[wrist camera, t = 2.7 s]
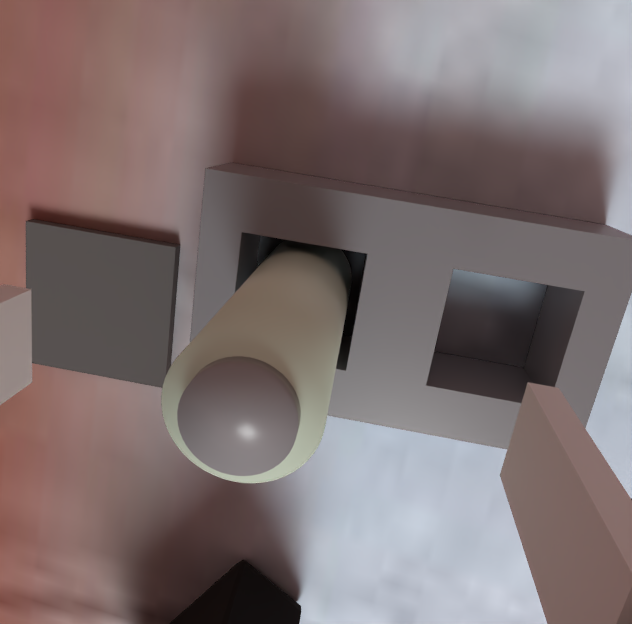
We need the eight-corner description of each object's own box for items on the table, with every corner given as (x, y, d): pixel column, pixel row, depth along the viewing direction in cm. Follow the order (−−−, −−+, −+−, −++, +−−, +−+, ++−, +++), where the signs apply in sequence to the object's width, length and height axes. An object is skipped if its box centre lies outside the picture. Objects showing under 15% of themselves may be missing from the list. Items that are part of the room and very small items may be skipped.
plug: (259, 311, 27) (146, 480, 14) (270, 227, 26) (157, 326, 13) (343, 326, 27) (309, 512, 14) (359, 242, 25) (337, 358, 12)
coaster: (33, 357, 29) (26, 361, 28) (33, 219, 27) (25, 221, 26) (169, 382, 28) (165, 388, 28) (180, 244, 26) (175, 247, 26)
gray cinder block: (212, 353, 28) (185, 388, 24) (232, 162, 25) (205, 168, 21) (546, 415, 27) (573, 461, 23) (606, 224, 24) (648, 242, 20)
